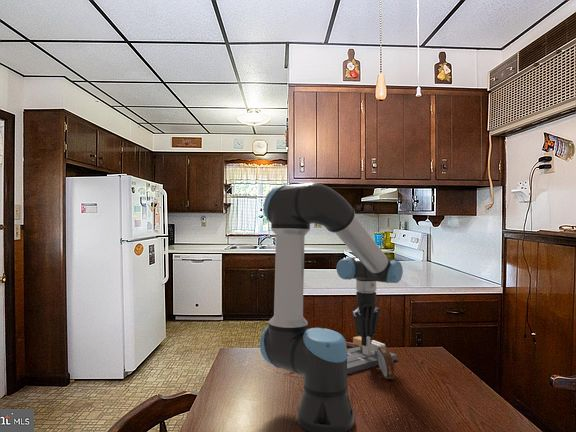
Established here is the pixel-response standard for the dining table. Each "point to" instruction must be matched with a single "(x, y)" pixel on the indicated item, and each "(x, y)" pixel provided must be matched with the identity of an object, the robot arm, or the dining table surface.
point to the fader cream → (376, 346)
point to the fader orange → (358, 342)
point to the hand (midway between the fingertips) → (366, 353)
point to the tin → (386, 363)
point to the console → (362, 359)
